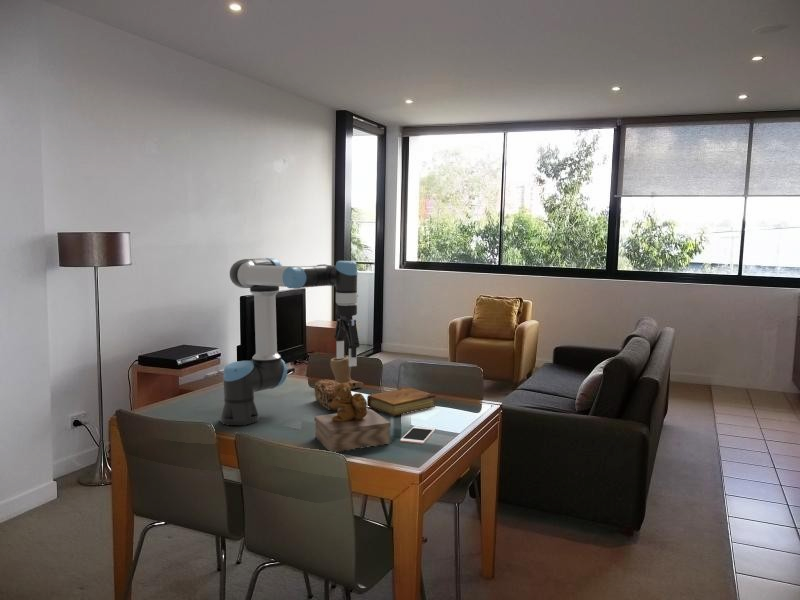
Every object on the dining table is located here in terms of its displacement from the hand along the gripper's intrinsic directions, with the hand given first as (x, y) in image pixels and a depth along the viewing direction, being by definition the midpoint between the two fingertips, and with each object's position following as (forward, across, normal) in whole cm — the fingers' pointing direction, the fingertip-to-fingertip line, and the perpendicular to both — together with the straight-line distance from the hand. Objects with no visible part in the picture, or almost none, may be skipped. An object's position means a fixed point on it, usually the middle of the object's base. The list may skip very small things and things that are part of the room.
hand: (346, 362), depth 231 cm
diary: (+30, +31, -36) cm, 56 cm away
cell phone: (+29, -7, -26) cm, 40 cm away
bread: (+30, +46, -10) cm, 56 cm away
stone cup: (+30, +73, -25) cm, 83 cm away
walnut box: (+29, -3, -1) cm, 29 cm away
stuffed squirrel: (+21, -2, -1) cm, 21 cm away
